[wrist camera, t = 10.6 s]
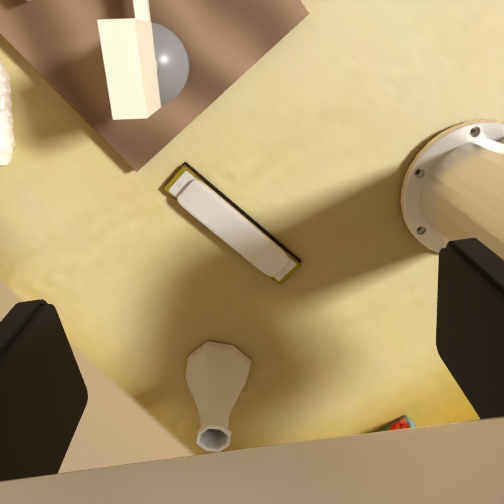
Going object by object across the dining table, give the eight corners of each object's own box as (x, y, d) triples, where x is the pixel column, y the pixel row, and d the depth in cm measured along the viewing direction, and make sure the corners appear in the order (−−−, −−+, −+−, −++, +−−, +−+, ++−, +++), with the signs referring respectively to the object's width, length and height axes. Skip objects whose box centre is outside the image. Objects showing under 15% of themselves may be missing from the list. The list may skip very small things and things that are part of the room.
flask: (173, 377, 50) (159, 452, 41) (203, 330, 47) (195, 397, 38) (231, 401, 51) (229, 478, 42) (263, 356, 49) (268, 427, 40)
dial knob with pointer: (193, 101, 36) (178, 120, 26) (123, 103, 36) (82, 124, 26) (177, -98, 30) (150, -162, 21) (94, -95, 30) (29, -158, 21)
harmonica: (300, 258, 44) (303, 267, 43) (279, 279, 45) (281, 288, 44) (186, 160, 40) (183, 165, 38) (164, 185, 41) (161, 191, 39)
